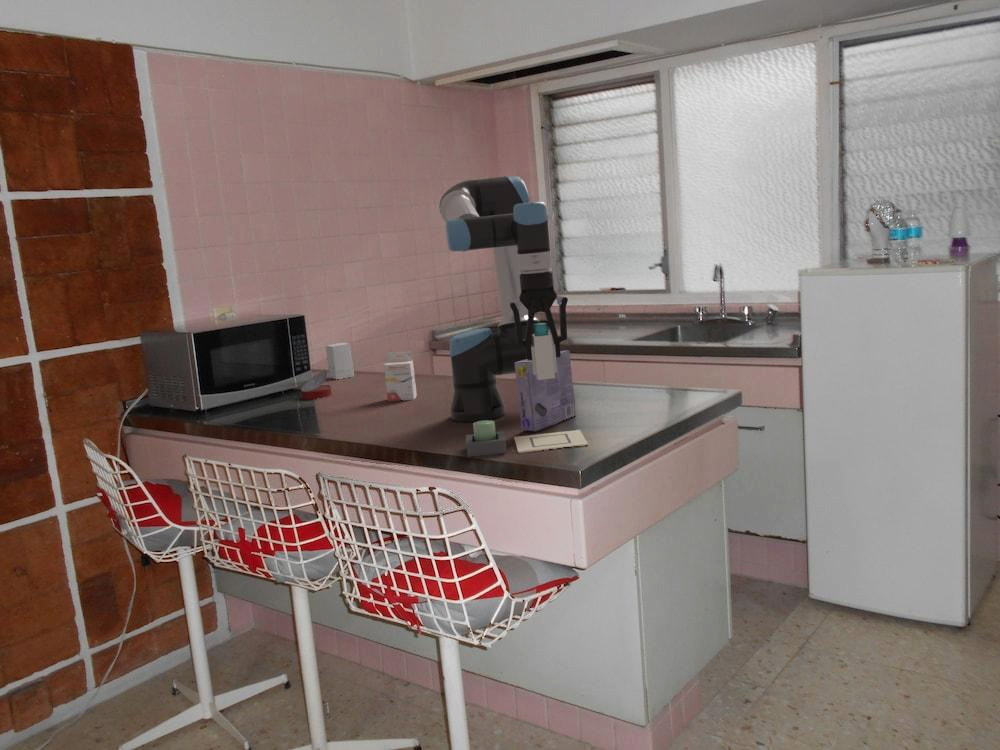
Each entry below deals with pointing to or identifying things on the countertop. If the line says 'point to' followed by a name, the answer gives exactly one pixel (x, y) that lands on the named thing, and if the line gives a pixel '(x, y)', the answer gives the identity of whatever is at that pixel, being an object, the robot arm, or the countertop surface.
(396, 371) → the ink cartridge box
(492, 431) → the button
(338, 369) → the supplement box
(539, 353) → the teal capped white bottle
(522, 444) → the cream square mat
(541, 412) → the cake pan box
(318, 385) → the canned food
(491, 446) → the button box
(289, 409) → the countertop surface
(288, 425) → the countertop surface
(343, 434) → the countertop surface
